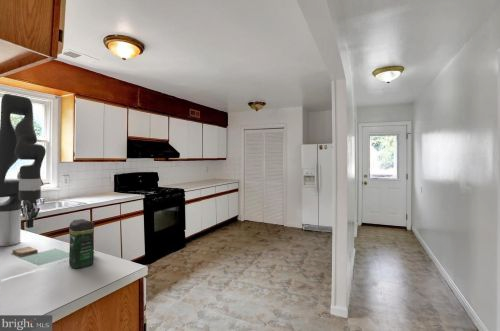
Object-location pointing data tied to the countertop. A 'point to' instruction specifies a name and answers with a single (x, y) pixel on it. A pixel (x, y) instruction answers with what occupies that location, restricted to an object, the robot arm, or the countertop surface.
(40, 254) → the mat
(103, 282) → the countertop surface
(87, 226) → the coffee jar
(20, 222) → the robot arm
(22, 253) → the slab
